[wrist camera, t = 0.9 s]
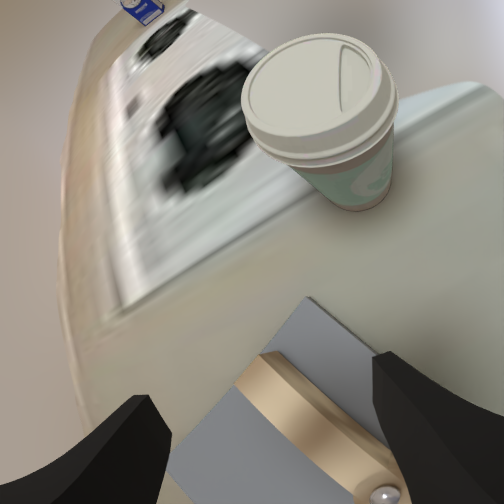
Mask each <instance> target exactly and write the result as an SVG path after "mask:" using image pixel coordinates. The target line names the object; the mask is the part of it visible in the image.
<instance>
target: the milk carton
mask: <svg viewBox="0 0 504 504" xmlns="http://www.w3.org/2000/svg"><path fill="white" fill-rule="evenodd" d="M112 1H114V2H115V3H116V4H118V5H119V6H120V7H122V8H123V9H124V10H126V11H127V12H128V13H129V14H131V15H132V16H133V17H134V18H136V19H137V20H138V21H139V22H141V23H142V24H143V25H144V26H146V25H148V24H149V23H150V22H151V21H153V20H154V19H155V18H156V17H158V16H159V15H160V14H162V13H163V12H164V6H165V5H163V4H162V3H161V2H160V1H159V0H112Z"/></svg>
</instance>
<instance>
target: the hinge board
mask: <svg viewBox="0 0 504 504" xmlns="http://www.w3.org/2000/svg"><path fill="white" fill-rule="evenodd" d="M273 351H278V352H279V353H280V354H281V355H282V356H283V357H284V358H285V359H287V360H288V361H289V362H290V363H291V364H292V365H293V366H294V367H295V368H296V369H297V370H298V371H299V372H300V373H302V374H303V375H304V376H305V377H306V378H307V379H308V380H309V381H310V382H311V383H313V384H314V385H315V386H316V387H317V388H318V389H319V390H320V391H321V392H322V393H324V394H325V395H326V396H327V397H328V398H329V399H330V400H331V401H333V402H334V403H335V404H336V405H337V406H338V407H339V408H341V409H342V410H343V411H344V412H345V413H346V414H348V415H349V416H350V417H351V418H352V419H353V420H355V421H356V422H357V423H358V424H359V425H360V426H362V427H363V428H364V429H365V430H366V431H368V432H369V433H370V434H371V435H372V436H374V437H375V438H376V439H377V440H378V441H380V442H381V443H382V444H383V445H385V446H386V447H387V448H388V449H389V450H391V449H390V447H389V445H388V442H387V440H386V438H385V436H384V434H383V432H382V429H381V427H380V424H379V421H378V418H377V415H376V412H375V408H374V405H373V402H372V396H373V386H372V357H373V356H376V355H379V354H378V353H376V352H375V351H374V350H373V349H372V348H370V347H369V346H368V345H367V344H366V343H364V342H363V341H362V340H361V339H360V338H358V337H357V336H356V335H355V334H354V333H352V332H351V331H350V330H349V329H347V328H346V327H345V326H344V325H343V324H341V323H340V322H339V321H338V320H337V319H335V318H334V317H333V316H332V315H331V314H329V313H328V312H327V311H326V310H324V309H323V308H322V307H321V306H320V305H318V304H317V303H316V302H315V301H314V300H312V299H311V298H310V297H306V296H305V298H304V299H303V300H302V301H301V303H300V304H299V305H298V307H297V308H296V309H295V311H294V312H293V313H292V314H291V316H290V317H289V318H288V320H287V321H286V322H285V323H284V325H283V326H282V327H281V328H280V330H279V331H278V332H277V334H276V335H275V336H274V337H273V338H272V340H271V341H270V342H269V343H268V345H267V346H266V347H265V348H264V350H263V351H262V352H261V353H260V354H263V353H268V352H273ZM166 471H167V472H168V473H169V475H170V476H171V477H172V478H173V480H174V481H175V482H176V483H177V484H178V485H179V487H180V488H181V489H182V490H183V491H184V492H185V494H186V495H187V496H188V497H189V498H190V499H191V500H192V501H193V502H194V504H354V500H353V494H351V493H350V492H349V491H348V490H346V489H345V488H344V487H343V486H341V485H340V484H339V483H338V482H336V481H335V480H334V479H333V478H331V477H330V476H329V475H328V474H327V473H326V472H324V471H323V470H322V469H321V468H320V467H318V466H317V465H316V464H315V463H314V462H313V461H312V460H310V459H309V458H308V457H307V456H306V455H305V454H304V453H303V452H301V451H300V450H299V449H298V448H297V447H296V446H295V445H294V444H293V443H292V442H291V441H290V440H288V439H287V438H286V437H285V436H284V435H283V434H282V433H281V432H280V431H279V430H278V429H277V428H276V427H275V426H274V425H273V424H272V423H271V422H270V421H269V420H268V419H267V418H266V417H265V416H264V415H263V414H262V413H261V412H260V411H259V410H258V409H257V408H256V407H255V406H254V405H253V404H252V403H251V402H250V401H249V400H248V399H247V398H246V397H245V396H244V395H243V394H242V392H241V391H240V390H239V389H238V388H237V387H236V386H235V385H233V386H232V387H231V388H230V390H229V391H228V392H227V393H226V394H225V395H224V396H223V398H222V399H221V400H220V401H219V402H218V403H217V404H216V405H215V406H214V408H213V409H212V410H211V411H210V412H209V413H208V414H207V415H206V416H205V417H204V419H203V420H202V421H201V422H200V423H199V424H198V425H197V426H196V427H195V428H194V429H193V430H192V431H191V432H190V433H189V434H188V436H187V437H186V438H185V439H184V440H183V441H182V442H181V443H180V444H179V445H178V446H177V447H176V448H175V449H174V450H173V451H172V452H171V453H170V454H169V460H168V464H167V467H166Z"/></svg>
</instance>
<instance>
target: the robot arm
mask: <svg viewBox="0 0 504 504" xmlns="http://www.w3.org/2000/svg"><path fill="white" fill-rule="evenodd" d="M372 386H373V396H372V402H373V405H374V408H375V412H376V415H377V418H378V421H379V424H380V427H381V429H382V432H383V434H384V436H385V438H386V440H387V442H388V445H389V447H390V449H391V451H392V453H393V456H394V458H395V460H396V462H397V464H398V467H399V469H400V471H401V473H402V475H403V478H404V480H405V483H406V486H407V488H408V492H409V495H410V499H411V503H412V504H504V417H503V416H501V415H498V414H495V413H493V412H490V411H488V410H485V409H483V408H481V407H478V406H476V405H474V404H472V403H470V402H468V401H466V400H464V399H462V398H460V397H459V396H457V395H455V394H453V393H452V392H450V391H448V390H447V389H445V388H443V387H442V386H440V385H439V384H437V383H435V382H434V381H432V380H431V379H429V378H428V377H426V376H425V375H423V374H422V373H420V372H419V371H418V370H416V369H415V368H413V367H412V366H411V365H409V364H408V363H406V362H405V361H404V360H402V359H401V358H400V357H398V356H397V355H395V354H394V353H392V352H391V351H389V352H386V353H383V354H380V355H376V356H373V357H372ZM171 438H172V432H171V431H170V429H169V428H168V426H167V425H166V423H165V421H164V420H163V418H162V417H161V415H160V413H159V412H158V410H157V408H156V407H155V405H154V403H153V402H152V400H151V398H150V397H149V395H133V396H132V397H131V398H129V399H128V400H127V401H126V402H125V403H123V404H122V405H121V406H120V407H119V408H118V409H117V410H116V411H115V412H113V413H112V414H111V415H110V416H109V417H108V418H107V419H106V420H105V421H104V422H102V423H101V424H100V425H99V426H98V427H97V428H96V429H95V430H94V431H92V432H91V433H90V434H89V435H88V436H87V437H85V438H84V439H83V440H82V441H80V442H79V443H78V444H77V445H76V446H74V447H73V448H72V449H71V450H69V451H68V452H66V453H65V454H64V455H63V456H61V457H59V458H58V459H56V460H55V461H53V462H52V463H50V464H48V465H47V466H45V467H43V468H41V469H39V470H37V471H35V472H33V473H31V474H29V475H27V476H25V477H23V478H20V479H17V480H15V481H12V482H9V483H6V484H3V485H0V504H156V503H157V499H158V496H159V492H160V488H161V485H162V481H163V478H164V474H165V471H166V467H167V464H168V460H169V454H170V447H171Z"/></svg>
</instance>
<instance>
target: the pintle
mask: <svg viewBox="0 0 504 504" xmlns="http://www.w3.org/2000/svg"><path fill="white" fill-rule="evenodd" d="M399 500H400V491H399V489H398V488H397V487H395V486H392V485H384V486H380V487H378V488H376V489H375V490H374V491H373V492H372V494H371V496H370V499H369V503H370V504H397V503H398V502H399Z"/></svg>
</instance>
